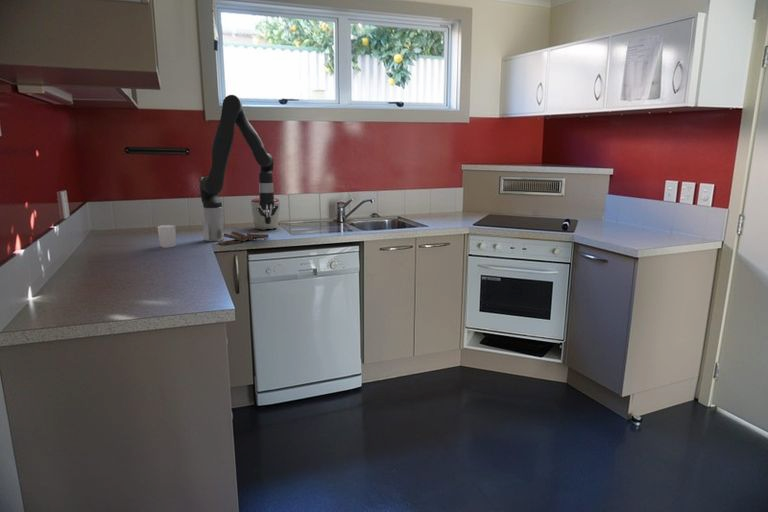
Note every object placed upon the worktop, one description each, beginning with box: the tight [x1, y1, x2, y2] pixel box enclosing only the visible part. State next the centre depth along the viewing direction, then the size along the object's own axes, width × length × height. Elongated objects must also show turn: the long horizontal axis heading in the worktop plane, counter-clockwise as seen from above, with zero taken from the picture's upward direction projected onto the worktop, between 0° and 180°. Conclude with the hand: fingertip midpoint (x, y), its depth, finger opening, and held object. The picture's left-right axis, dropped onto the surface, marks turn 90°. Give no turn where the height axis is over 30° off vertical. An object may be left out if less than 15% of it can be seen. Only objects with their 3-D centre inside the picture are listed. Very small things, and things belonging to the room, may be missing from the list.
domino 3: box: [230, 230, 254, 241], centre depth 266 cm, size 2×5×10 cm
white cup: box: [157, 224, 176, 249], centre depth 250 cm, size 8×8×10 cm
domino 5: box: [252, 237, 267, 241], centre depth 272 cm, size 2×5×10 cm
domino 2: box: [223, 233, 247, 242], centre depth 262 cm, size 2×5×10 cm
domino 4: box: [246, 232, 269, 239], centre depth 272 cm, size 2×5×10 cm
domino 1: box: [217, 239, 242, 246], centre depth 261 cm, size 2×5×10 cm
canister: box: [249, 197, 281, 231], centre depth 304 cm, size 18×18×21 cm
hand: (267, 223), depth 275 cm, fingers closed
